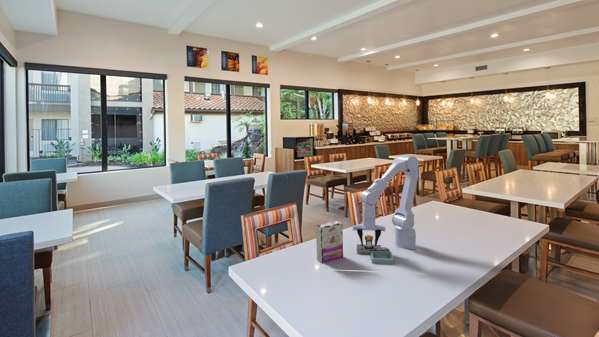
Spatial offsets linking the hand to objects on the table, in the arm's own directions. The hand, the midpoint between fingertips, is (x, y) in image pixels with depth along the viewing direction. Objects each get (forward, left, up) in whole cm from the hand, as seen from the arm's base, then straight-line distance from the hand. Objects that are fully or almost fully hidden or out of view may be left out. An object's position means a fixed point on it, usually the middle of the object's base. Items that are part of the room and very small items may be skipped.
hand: (368, 245), depth 149 cm
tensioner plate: (-2, 0, -3) cm, 4 cm away
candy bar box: (+18, +10, -4) cm, 20 cm away
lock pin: (0, 0, -3) cm, 3 cm away
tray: (-5, +8, -3) cm, 10 cm away
